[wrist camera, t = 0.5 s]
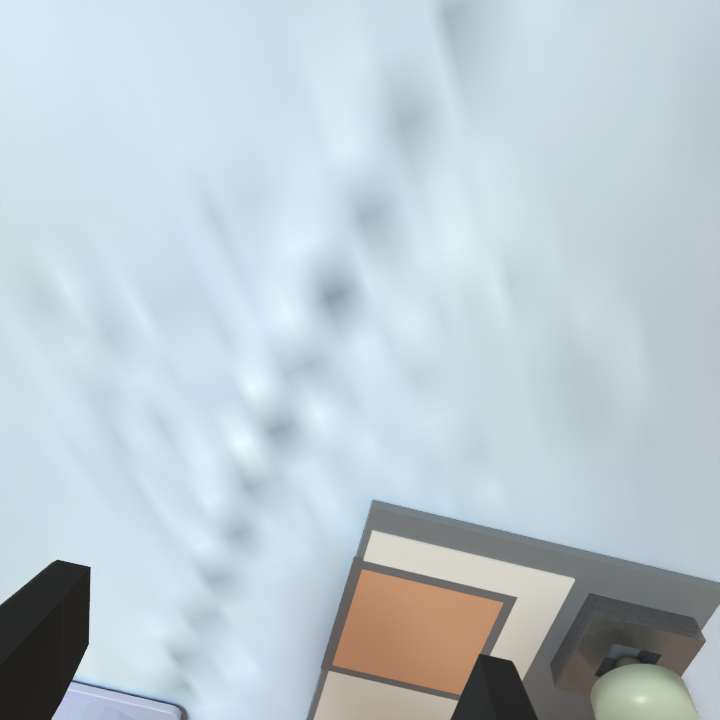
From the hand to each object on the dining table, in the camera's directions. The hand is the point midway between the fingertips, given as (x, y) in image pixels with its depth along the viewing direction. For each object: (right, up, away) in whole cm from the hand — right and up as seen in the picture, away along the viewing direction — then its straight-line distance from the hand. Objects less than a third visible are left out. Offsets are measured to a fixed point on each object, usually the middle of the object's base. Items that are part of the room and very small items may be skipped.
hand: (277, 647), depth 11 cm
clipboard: (+7, -8, +14) cm, 17 cm away
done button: (+11, -5, +12) cm, 17 cm away
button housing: (+11, -5, +12) cm, 17 cm away
